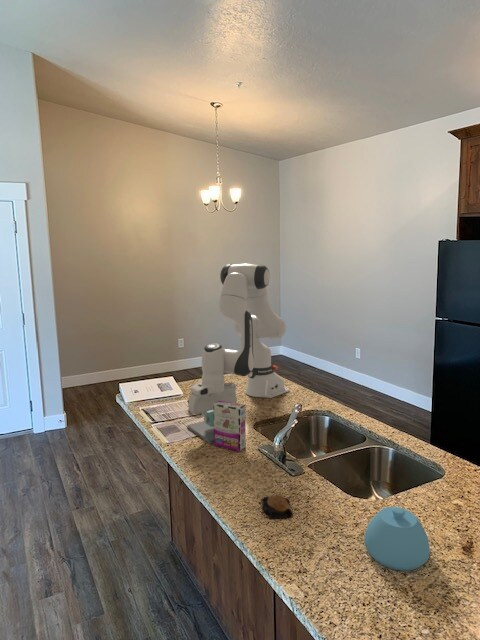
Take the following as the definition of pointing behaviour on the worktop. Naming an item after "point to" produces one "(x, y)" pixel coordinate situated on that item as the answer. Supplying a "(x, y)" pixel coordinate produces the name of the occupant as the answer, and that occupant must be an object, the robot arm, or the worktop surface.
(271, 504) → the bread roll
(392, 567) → the sugar bowl
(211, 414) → the teal block
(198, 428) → the slate board
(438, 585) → the worktop surface
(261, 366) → the robot arm
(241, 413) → the candy bar box
